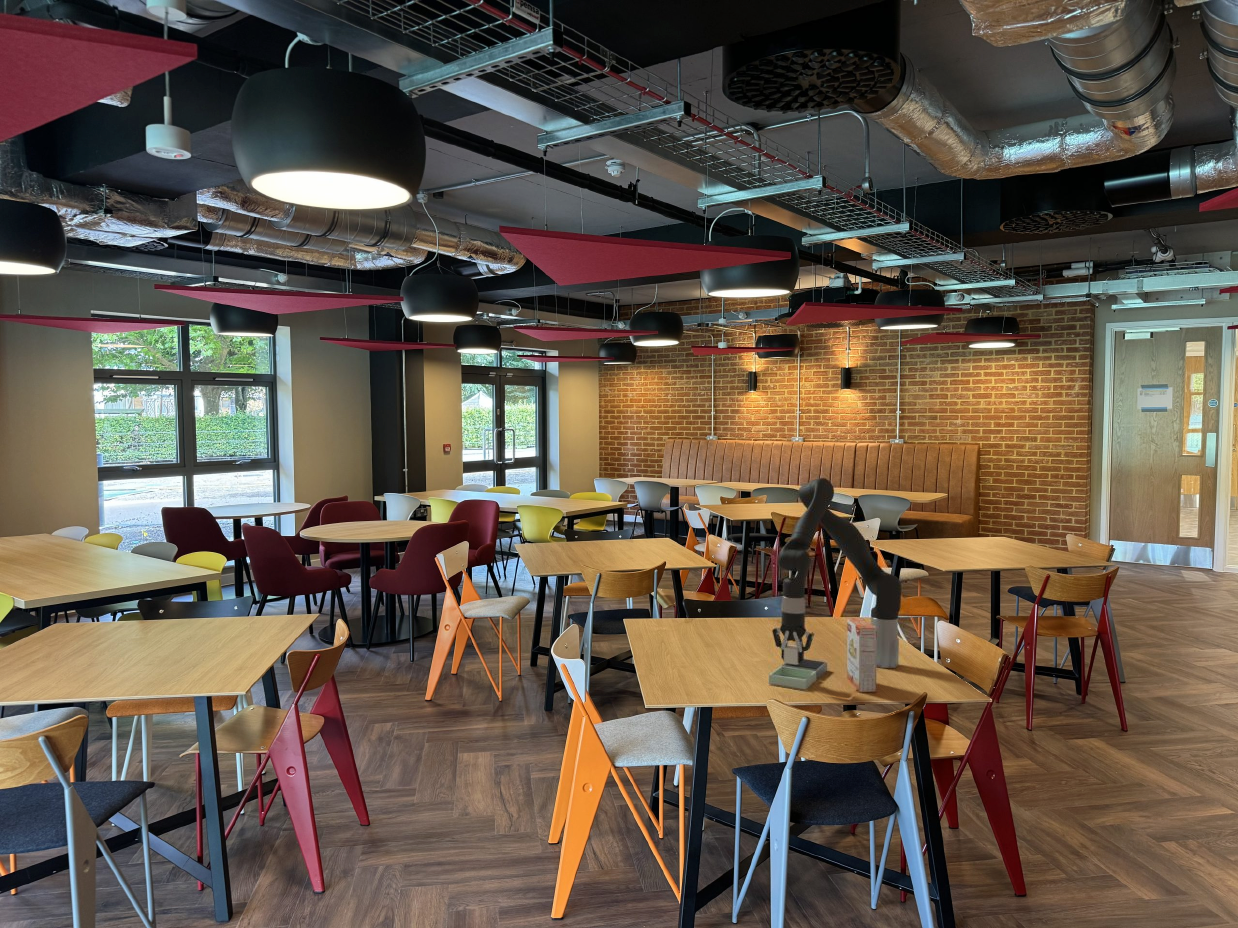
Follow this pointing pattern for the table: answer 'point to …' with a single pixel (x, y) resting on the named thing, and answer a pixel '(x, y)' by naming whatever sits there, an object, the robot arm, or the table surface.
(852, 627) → the cracker box
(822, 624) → the table surface
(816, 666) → the bin
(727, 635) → the table surface
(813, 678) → the bin
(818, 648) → the table surface
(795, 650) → the light grey block
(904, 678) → the table surface
